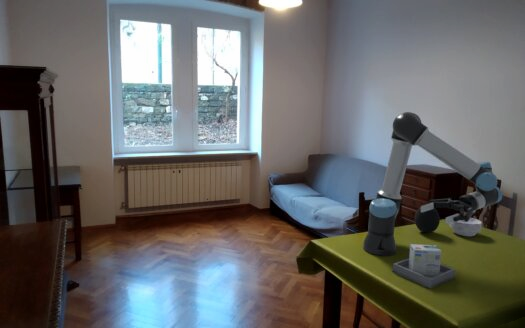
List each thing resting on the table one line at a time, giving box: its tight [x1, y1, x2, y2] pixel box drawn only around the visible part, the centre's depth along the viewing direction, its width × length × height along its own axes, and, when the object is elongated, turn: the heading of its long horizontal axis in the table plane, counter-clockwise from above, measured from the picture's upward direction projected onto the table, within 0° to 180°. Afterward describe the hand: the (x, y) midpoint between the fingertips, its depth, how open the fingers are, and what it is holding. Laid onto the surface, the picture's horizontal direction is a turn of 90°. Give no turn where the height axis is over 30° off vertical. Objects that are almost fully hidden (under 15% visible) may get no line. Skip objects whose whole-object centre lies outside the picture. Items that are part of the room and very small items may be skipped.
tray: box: [392, 257, 456, 289], centre depth 158 cm, size 17×17×4 cm
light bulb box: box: [408, 243, 442, 276], centre depth 157 cm, size 11×7×11 cm, turn 85°
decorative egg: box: [414, 206, 441, 234], centre depth 208 cm, size 12×12×15 cm
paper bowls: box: [448, 217, 483, 238], centre depth 209 cm, size 15×15×8 cm
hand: (433, 215), depth 164 cm, fingers open, 13 cm apart
